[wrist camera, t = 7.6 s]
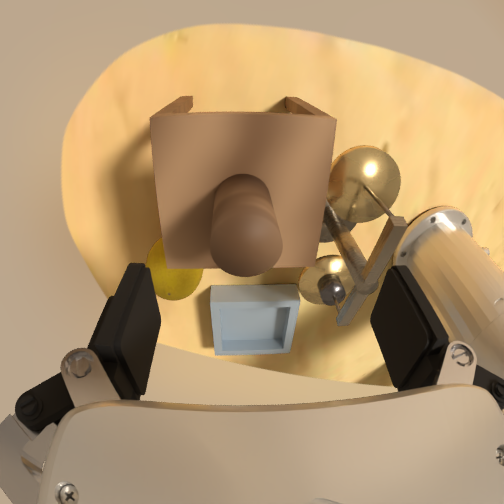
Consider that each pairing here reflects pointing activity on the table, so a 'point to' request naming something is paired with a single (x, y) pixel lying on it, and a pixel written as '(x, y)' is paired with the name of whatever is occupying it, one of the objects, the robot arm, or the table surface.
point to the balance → (344, 220)
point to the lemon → (171, 276)
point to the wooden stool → (241, 186)
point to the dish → (253, 318)
